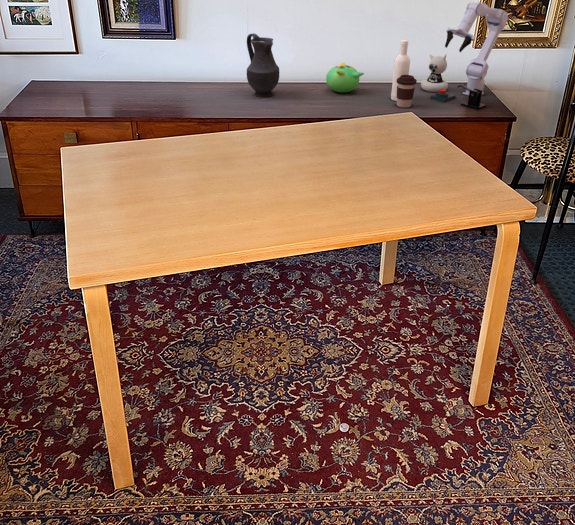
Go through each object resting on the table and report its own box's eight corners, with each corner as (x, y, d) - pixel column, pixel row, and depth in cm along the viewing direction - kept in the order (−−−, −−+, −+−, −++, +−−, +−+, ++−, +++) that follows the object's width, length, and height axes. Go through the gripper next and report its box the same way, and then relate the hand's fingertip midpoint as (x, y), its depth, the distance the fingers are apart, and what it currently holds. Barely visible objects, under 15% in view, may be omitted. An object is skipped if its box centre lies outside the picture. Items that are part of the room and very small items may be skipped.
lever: (456, 88, 327) (458, 84, 325) (463, 86, 330) (465, 81, 329) (473, 98, 322) (475, 94, 320) (480, 96, 325) (481, 91, 324)
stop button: (441, 91, 337) (441, 88, 336) (447, 93, 335) (447, 90, 334) (437, 93, 335) (437, 89, 334) (443, 94, 332) (443, 91, 331)
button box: (442, 94, 343) (443, 88, 341) (455, 98, 338) (456, 91, 336) (430, 98, 336) (431, 92, 334) (443, 102, 331) (444, 95, 330)
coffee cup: (412, 103, 329) (416, 74, 321) (414, 109, 321) (417, 79, 313) (393, 102, 330) (396, 73, 322) (394, 108, 321) (397, 78, 314)
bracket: (460, 105, 327) (463, 89, 323) (469, 102, 332) (471, 86, 328) (477, 110, 321) (480, 94, 317) (486, 107, 326) (489, 90, 322)
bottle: (395, 95, 340) (401, 37, 324) (408, 98, 336) (415, 40, 320) (388, 99, 334) (394, 40, 318) (401, 102, 330) (408, 42, 315)
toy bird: (351, 86, 354) (353, 59, 346) (364, 95, 340) (366, 67, 333) (321, 88, 349) (322, 61, 341) (332, 97, 335) (334, 69, 328)
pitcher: (260, 101, 328) (260, 41, 312) (236, 92, 341) (234, 34, 325) (285, 95, 337) (286, 36, 322) (261, 86, 351) (260, 29, 335)
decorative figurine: (415, 89, 350) (419, 52, 340) (428, 84, 360) (433, 48, 349) (439, 95, 342) (444, 57, 332) (452, 89, 352) (457, 52, 341)
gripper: (451, 16, 313) (438, 40, 313) (478, 24, 307) (465, 49, 307) (453, 24, 319) (440, 47, 319) (479, 32, 313) (466, 56, 313)
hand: (452, 48), depth 313 cm, fingers open, 7 cm apart
